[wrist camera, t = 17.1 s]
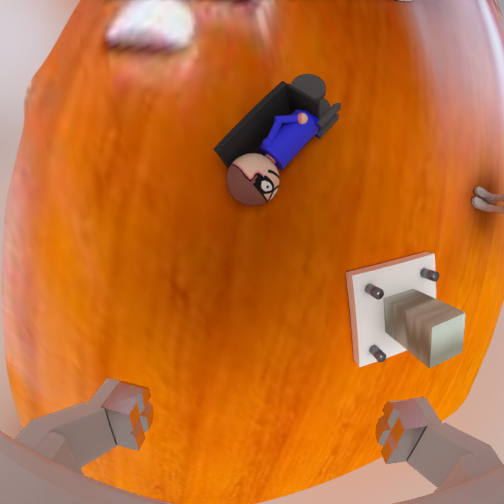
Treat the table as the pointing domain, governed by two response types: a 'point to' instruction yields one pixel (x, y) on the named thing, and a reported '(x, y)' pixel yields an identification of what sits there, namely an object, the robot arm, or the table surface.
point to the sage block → (424, 326)
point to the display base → (372, 304)
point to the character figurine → (274, 137)
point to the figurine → (487, 200)
